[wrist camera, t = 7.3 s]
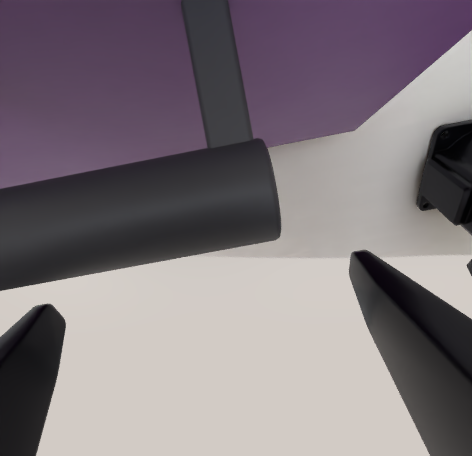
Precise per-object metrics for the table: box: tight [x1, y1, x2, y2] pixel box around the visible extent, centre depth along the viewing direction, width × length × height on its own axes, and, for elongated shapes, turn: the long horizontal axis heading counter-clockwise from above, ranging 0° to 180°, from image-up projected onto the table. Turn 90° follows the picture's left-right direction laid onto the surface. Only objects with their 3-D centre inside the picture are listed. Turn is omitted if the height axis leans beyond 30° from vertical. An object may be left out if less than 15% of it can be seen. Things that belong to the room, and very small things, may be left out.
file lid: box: [0, 0, 472, 291], centre depth 9 cm, size 12×17×4 cm
